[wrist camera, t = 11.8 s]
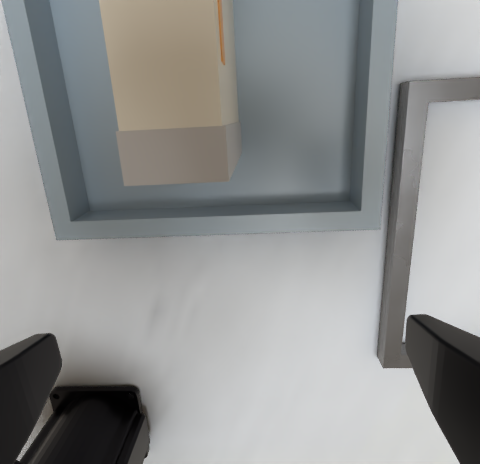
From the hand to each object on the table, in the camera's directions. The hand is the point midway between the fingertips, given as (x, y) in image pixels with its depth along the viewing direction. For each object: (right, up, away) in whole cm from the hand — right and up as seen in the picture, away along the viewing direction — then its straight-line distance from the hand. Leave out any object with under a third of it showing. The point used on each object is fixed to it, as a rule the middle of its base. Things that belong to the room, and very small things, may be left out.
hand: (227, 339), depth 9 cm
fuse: (-1, +11, +9) cm, 14 cm away
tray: (-1, +12, +9) cm, 15 cm away
